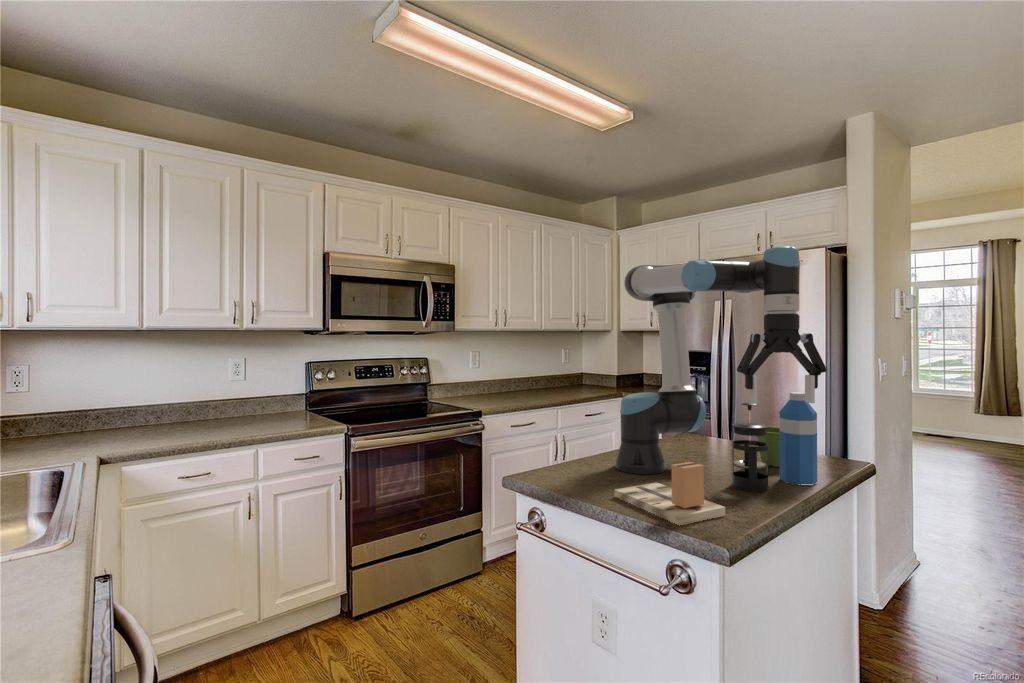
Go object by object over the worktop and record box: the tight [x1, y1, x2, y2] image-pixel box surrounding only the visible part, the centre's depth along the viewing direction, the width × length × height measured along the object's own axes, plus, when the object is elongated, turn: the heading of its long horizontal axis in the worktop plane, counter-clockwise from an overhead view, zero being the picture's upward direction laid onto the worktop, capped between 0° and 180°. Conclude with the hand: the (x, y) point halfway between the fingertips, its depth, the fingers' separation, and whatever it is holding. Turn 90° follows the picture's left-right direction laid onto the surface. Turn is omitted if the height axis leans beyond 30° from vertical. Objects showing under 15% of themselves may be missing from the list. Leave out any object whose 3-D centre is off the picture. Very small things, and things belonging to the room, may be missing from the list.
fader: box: [671, 461, 705, 508], centre depth 120 cm, size 4×6×9 cm, turn 116°
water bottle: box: [778, 391, 818, 485], centre depth 147 cm, size 9×9×25 cm
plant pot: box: [756, 426, 780, 468], centre depth 166 cm, size 12×12×11 cm
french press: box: [731, 402, 770, 493], centre depth 142 cm, size 12×9×23 cm
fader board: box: [613, 482, 726, 527], centre depth 127 cm, size 23×14×2 cm, turn 26°
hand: (781, 402), depth 123 cm, fingers open, 13 cm apart
